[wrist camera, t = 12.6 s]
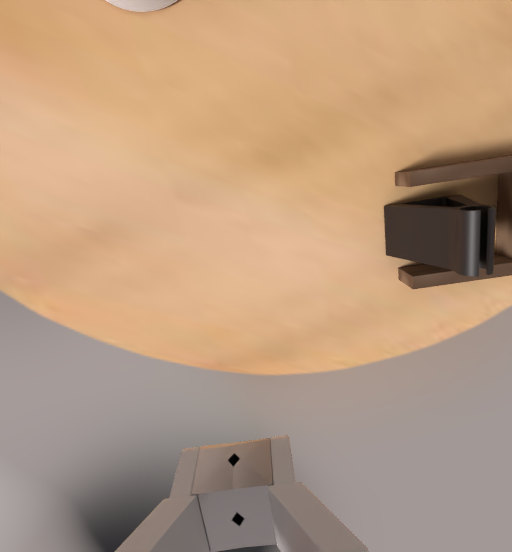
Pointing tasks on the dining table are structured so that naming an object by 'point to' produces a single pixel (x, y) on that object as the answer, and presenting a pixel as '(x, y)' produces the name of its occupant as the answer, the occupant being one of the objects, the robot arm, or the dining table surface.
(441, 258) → the phone stand
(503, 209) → the frame
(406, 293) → the dining table surface
